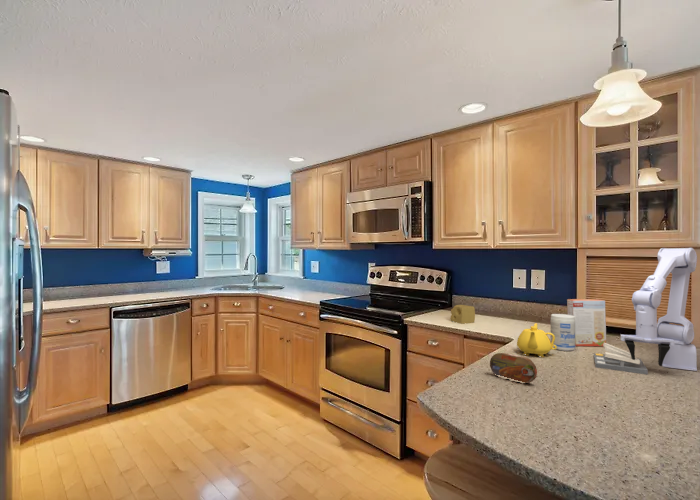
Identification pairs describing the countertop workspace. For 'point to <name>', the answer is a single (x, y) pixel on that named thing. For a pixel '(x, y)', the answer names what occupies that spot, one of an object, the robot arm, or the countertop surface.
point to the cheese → (463, 314)
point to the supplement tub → (563, 331)
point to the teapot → (535, 341)
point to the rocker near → (622, 358)
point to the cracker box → (588, 321)
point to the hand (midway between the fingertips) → (646, 363)
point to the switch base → (619, 364)
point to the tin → (513, 367)
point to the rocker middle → (615, 351)
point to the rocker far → (616, 348)
